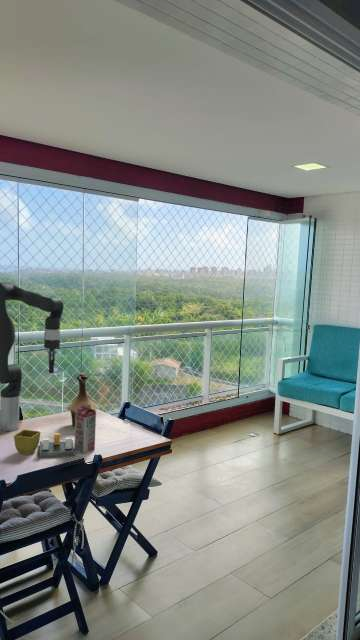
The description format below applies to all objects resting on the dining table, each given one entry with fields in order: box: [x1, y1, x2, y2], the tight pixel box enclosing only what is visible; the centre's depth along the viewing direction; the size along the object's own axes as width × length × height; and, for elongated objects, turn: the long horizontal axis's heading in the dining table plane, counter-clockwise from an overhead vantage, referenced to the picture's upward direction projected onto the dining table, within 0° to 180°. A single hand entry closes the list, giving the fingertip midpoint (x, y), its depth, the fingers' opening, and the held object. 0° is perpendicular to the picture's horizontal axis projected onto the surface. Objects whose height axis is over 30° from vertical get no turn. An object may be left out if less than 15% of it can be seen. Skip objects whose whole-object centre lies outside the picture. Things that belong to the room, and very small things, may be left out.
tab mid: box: [53, 433, 61, 445], centre depth 227 cm, size 3×2×4 cm
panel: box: [39, 439, 75, 459], centre depth 225 cm, size 15×16×2 cm
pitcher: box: [66, 372, 100, 428], centre depth 262 cm, size 18×17×28 cm
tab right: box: [65, 437, 73, 449], centre depth 222 cm, size 3×2×4 cm
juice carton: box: [73, 402, 97, 454], centre depth 227 cm, size 7×7×22 cm
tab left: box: [42, 437, 50, 450], centre depth 220 cm, size 3×2×4 cm
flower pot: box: [13, 429, 42, 456], centre depth 220 cm, size 9×9×9 cm
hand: (51, 373), depth 241 cm, fingers closed
